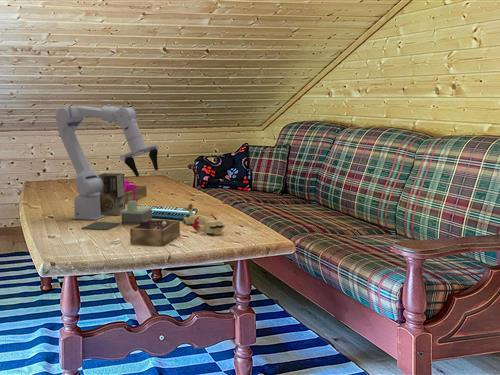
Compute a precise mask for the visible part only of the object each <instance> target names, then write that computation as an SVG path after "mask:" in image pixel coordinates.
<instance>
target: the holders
mask: <svg viewBox="0 0 500 375" xmlns="http://www.w3.org/2000/svg"><path fill="white" fill-rule="evenodd" d="M134 185H135V184H134ZM147 191H148V190H147V185H137V184H136V185H135V201H137V202H138V201H139V200H141V199H144V198H145V197H147V196H148V193H147ZM129 201H134V198H133V191H129V192H125V205H127V202H129ZM149 221H167V227H166V228H164V229H161V230H157V229H154V228H156V227H159V228H163V225H162V224H161V225H160V226H158V224H157V226H154V225H153V223H150V229H140V224H135V225H134V226H133V227H130V228H129V235H130V236H129V237H130V239H129V240H130V242H129V243H130V244H132V245H142V246H158V247H159V246H166V245H168V244H169V243H171V242H172V241H173V240H175V239H176V238H178V237H179V236H180V235H181V228H180V227H181V225H180V224H181V223H180V220H178V219H177V220H175V219H174V220H173V219H157V218H156V219H154V218H152V219H148V220H146V221H144V222H149ZM157 223H158V222H157ZM161 223H162V222H161Z"/></svg>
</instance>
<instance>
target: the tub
mask: <svg viewBox="0 0 500 375" xmlns="http://www.w3.org/2000/svg"><path fill="white" fill-rule="evenodd" d="M152 212H153V209H151V210H149V211H147V212H145V213H143V214H132V213H121V214H120V215H121V216H120V218H121V224H126V225H127V224H128V225H129V224H130V225H138V224H140V222H144V221H146V220H148V219H151V218H152V219H153V213H152Z"/></svg>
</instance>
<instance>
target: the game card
mask: <svg viewBox="0 0 500 375" xmlns="http://www.w3.org/2000/svg"><path fill="white" fill-rule="evenodd" d="M157 222H158V223H157ZM161 222H162V223H161ZM150 223H153V225H154V226H157V224H158V226H160V225H161V224H162V225H163V228H159V227H156V228H154V229H157V230H161V229H164V228H166V227H167V221H149V222H140V229H150Z"/></svg>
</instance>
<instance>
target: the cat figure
mask: <svg viewBox="0 0 500 375" xmlns="http://www.w3.org/2000/svg"><path fill="white" fill-rule="evenodd" d="M193 206H194V204H192V203H188V206H187V211H188V214H189V216H183V220H182V222H181V223H182V224H184V225H187V224H190V225H192V228H193V230H194V231H196V232H199V231H204V232H203V234H208V235H209V234H214V235H221V233H222V232H223V229H224V228H226V224H224V223H223V222H222V221H221V220H218V218H217V217H215V215H213V214H209V215H210V216H211V217H212V218H211V217H208V216H207V215H201V214H195V213H194V211H193V208H194V207H193ZM199 225H200V226H199ZM198 226H199V229H198Z"/></svg>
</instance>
